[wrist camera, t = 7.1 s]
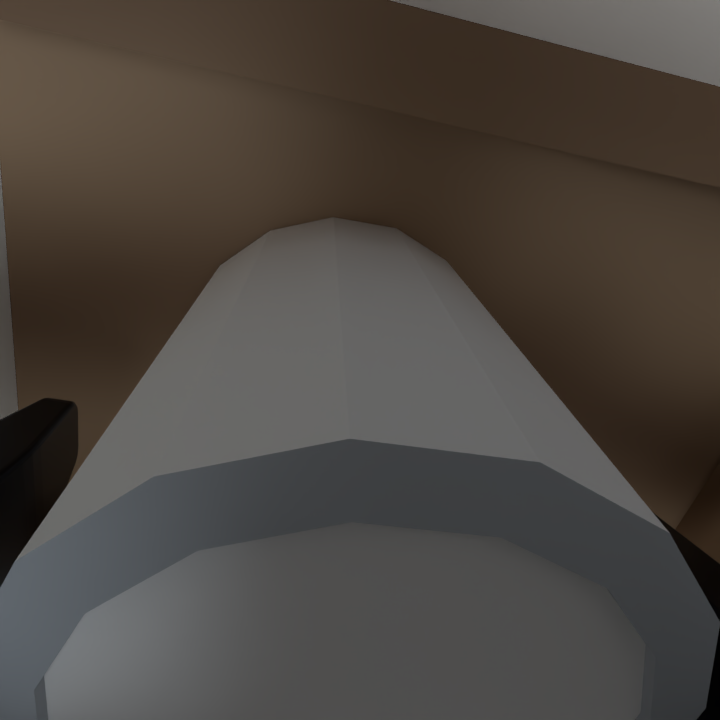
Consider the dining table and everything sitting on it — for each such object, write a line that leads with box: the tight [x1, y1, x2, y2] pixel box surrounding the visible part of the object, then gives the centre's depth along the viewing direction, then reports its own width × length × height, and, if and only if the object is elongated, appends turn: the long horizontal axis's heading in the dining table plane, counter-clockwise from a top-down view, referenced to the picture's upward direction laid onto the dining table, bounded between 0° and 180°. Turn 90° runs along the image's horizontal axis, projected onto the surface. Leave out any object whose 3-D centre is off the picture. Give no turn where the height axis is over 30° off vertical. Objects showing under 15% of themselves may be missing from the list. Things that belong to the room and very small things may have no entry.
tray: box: [0, 0, 720, 564], centre depth 12 cm, size 12×16×3 cm
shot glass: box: [0, 217, 720, 720], centre depth 9 cm, size 7×7×7 cm
